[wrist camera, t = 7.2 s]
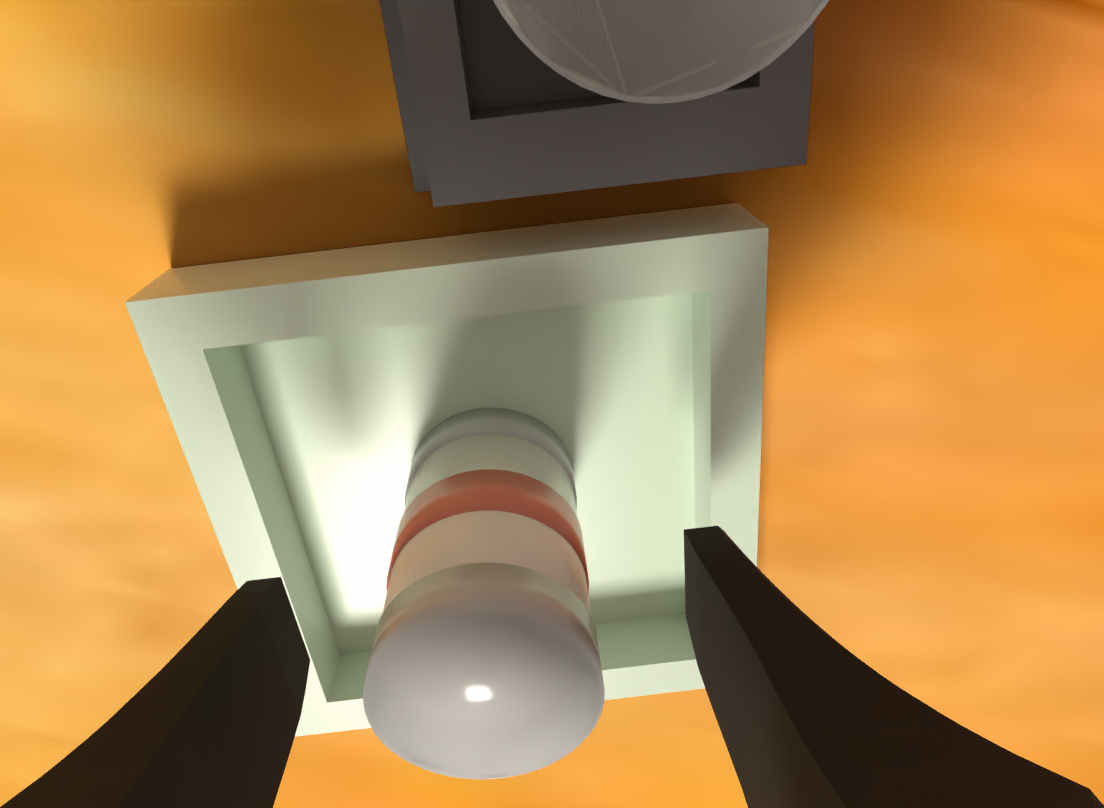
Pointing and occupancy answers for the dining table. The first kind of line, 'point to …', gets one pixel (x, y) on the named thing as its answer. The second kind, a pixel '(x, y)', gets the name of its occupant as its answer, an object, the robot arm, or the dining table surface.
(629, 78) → the fuse
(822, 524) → the dining table surface
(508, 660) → the fuse marked
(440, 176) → the fuse block
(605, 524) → the tray
